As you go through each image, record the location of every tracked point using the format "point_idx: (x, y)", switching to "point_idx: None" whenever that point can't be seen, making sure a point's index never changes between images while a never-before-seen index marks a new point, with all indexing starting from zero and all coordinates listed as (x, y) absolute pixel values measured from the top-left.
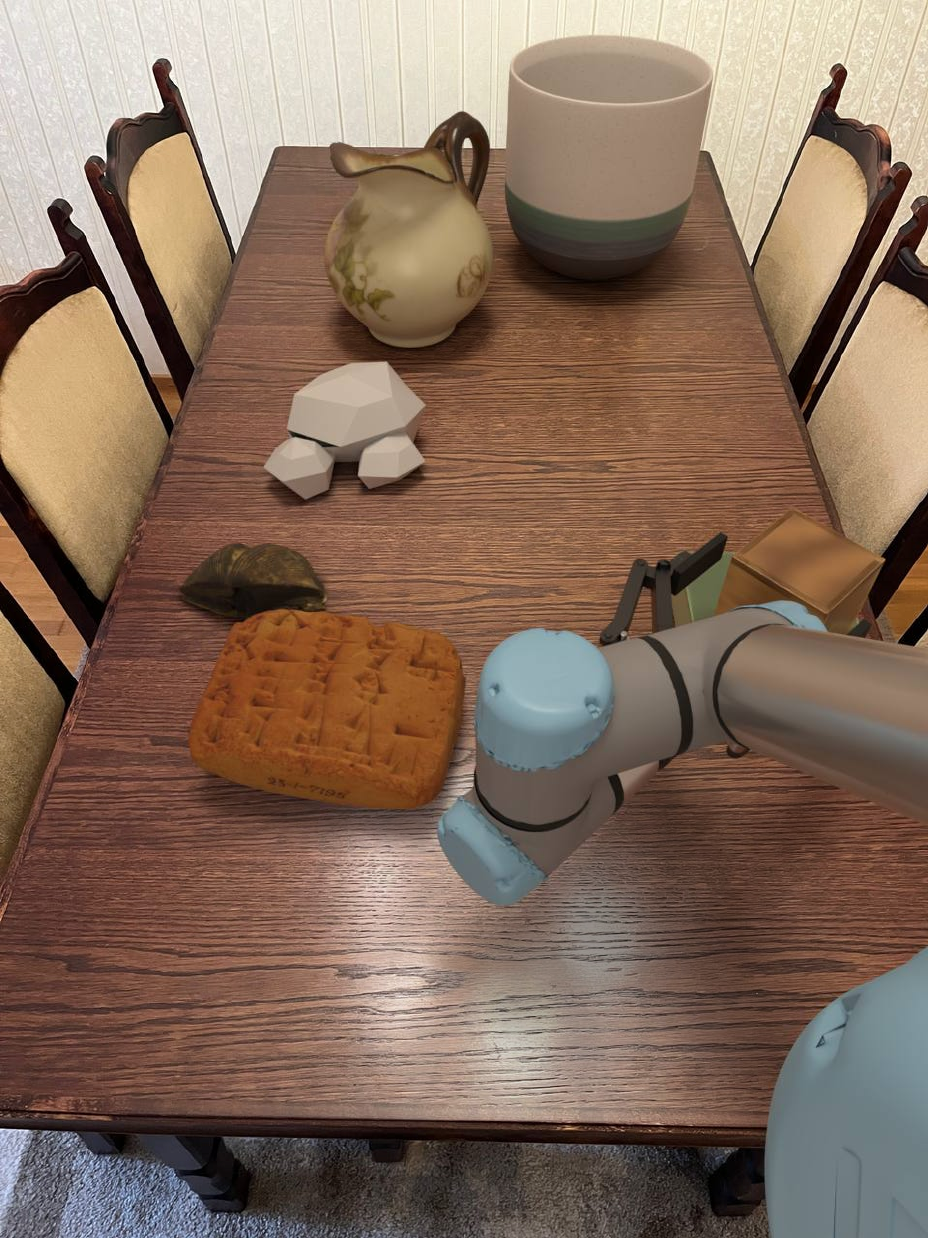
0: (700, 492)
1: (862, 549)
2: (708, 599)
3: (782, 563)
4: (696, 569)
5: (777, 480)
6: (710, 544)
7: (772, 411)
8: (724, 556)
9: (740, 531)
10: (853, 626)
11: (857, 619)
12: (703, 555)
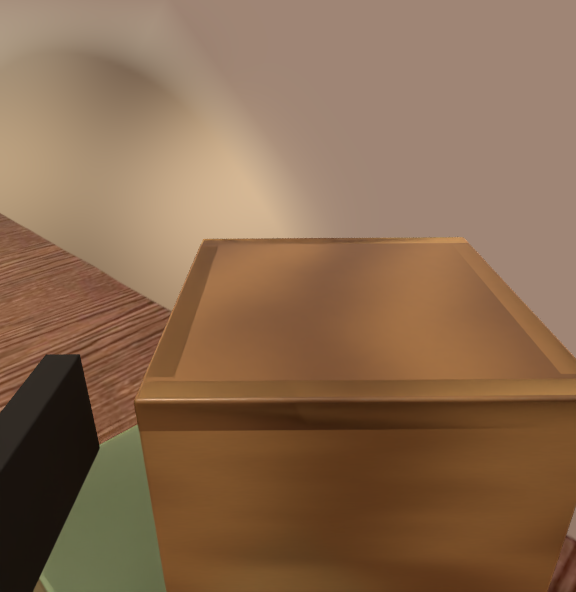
0: None
1: (410, 241)
2: (127, 582)
3: (308, 336)
4: (3, 552)
5: (126, 328)
6: (20, 408)
7: (77, 275)
8: (109, 450)
9: (114, 407)
10: None
11: None
12: (2, 468)
